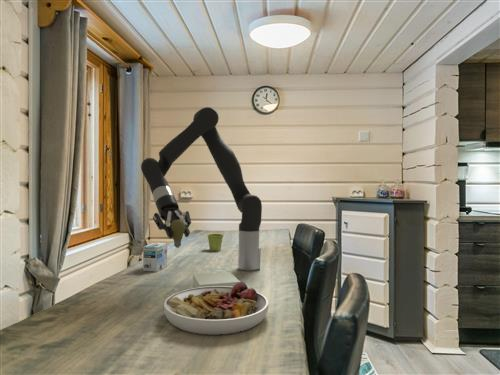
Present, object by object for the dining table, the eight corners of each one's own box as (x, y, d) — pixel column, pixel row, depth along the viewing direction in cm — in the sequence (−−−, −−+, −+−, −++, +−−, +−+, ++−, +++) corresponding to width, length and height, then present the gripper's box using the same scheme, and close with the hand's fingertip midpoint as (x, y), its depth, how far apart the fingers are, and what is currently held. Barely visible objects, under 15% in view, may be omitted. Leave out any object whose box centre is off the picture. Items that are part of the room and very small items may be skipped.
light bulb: (170, 246, 135) (170, 218, 134) (186, 245, 135) (186, 218, 135) (168, 249, 129) (168, 220, 129) (184, 248, 129) (184, 220, 129)
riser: (229, 285, 140) (229, 271, 140) (240, 296, 127) (240, 281, 127) (192, 287, 136) (192, 274, 135) (199, 299, 122) (199, 284, 122)
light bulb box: (157, 272, 158) (157, 247, 157) (142, 271, 159) (142, 246, 159) (167, 266, 168) (167, 242, 168) (153, 265, 169) (154, 242, 169)
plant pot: (226, 250, 209) (227, 234, 209) (216, 252, 201) (216, 236, 201) (213, 248, 214) (214, 233, 214) (203, 250, 206) (203, 235, 206)
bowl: (228, 350, 87) (229, 317, 87) (140, 322, 103) (141, 294, 103) (286, 313, 112) (286, 287, 112) (208, 295, 128) (208, 272, 128)
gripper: (149, 194, 133) (164, 231, 124) (185, 193, 142) (201, 228, 133) (144, 208, 137) (157, 245, 128) (179, 206, 146) (194, 240, 137)
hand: (179, 236), depth 130 cm, fingers closed on light bulb, 5 cm apart
